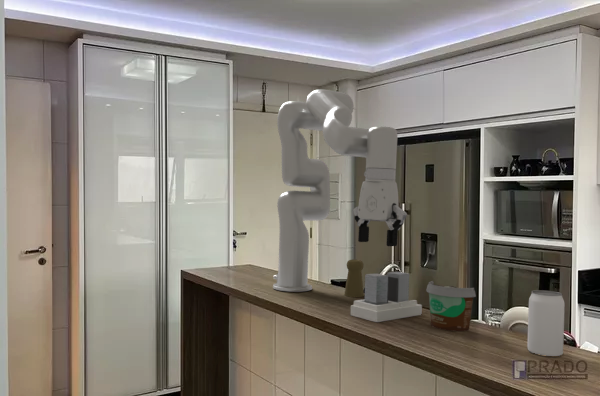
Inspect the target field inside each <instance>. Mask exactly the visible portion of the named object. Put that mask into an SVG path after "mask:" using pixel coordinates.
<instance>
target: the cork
mask: <svg viewBox="0 0 600 396" xmlns="http://www.w3.org/2000/svg"><path fill="white" fill-rule="evenodd" d="M346 269H347V277H346V282H345V289H344V295H343V296H345V297H349V298H363V297H365V290H364V284H363V283H364V282H363V272H362V271H363V270H364V262H363V260H360V259H355V258H353V259H349V260H347V263H346Z"/></svg>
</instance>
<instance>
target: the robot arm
mask: <svg viewBox="0 0 600 396" xmlns="http://www.w3.org/2000/svg"><path fill="white" fill-rule="evenodd" d="M354 108H355V107H354V101H353V99H352V97H351V96H350V95H349V94H348V93H346V92H344V91H343V92H342V91H337V90H332V89H325V88H317V89H315V90H312V91H311V92H310V93H308V95H307V98H306V101H300V100H290V101H286V102H284V103H282V105H281V106H280V107H279V110H278V113H277V118H276V119H277V120H276V122H277V123H276V125H277V131H278V137H279V139H280V145H281V148H280V149H281V151H280V153H281V155H280V156H281V178H282V182H283V183H284V184H285V185H286V186H289V187H293V188H294V187H296V188H309V189H310V191H309V190H307V191H305V190H288V191H285V192H282V193H281V194H280V195H279V196H278V198H277V205H276V206H277V212H278V213H277V214H278V219H279V221H278V222H279V236H278V237H279V241H278V242H279V245H278V267H277V268H278V271H277V272H278V273H276V274H274V275H273V277H272V278H273V279H274V280H276V283H273V285H272V289H274V290H276V291H281V292H290V293H291V292H292V293H293V292H294V293H298V292H300V293H301V292H303V293H304V292H308V291H311V290H312V289H313V285H311V284H309V283H308V279H309V277H308V276H309V275H308V273H309V249H310V248H309V247H310V246H309V245H310V235H309V230H308V228H307V226H306V225H305V223H304V221H323V220H325V219H326V218H328V216H329V214H330V211H331V186H330V185H331V184H330V181H331V180H330V179H331V177H330V169H329V167H328V165H327V164H326V162H324V160H322V159H317V158H310V157H309V156H308V143H307V140H306V139H305V138H306V137H304V135H303V133H302V132H301V131H300V130H301V129H303V130H312V131H318V132H319V131H320V132H321V131H322V136H323V139H324V141H325V143H326V144H327V146H328V147H330V148H331V150H332V151H334V152H335V153H336V154H338V155H341V156H347V157H357V158H358V157H360V158H365V171H364V172H363V176H364V177H365V179H364V180H365V181H364V180H363V181H362V182H361V183H362V184H361V188H360V190H359V191H360V193H359V198H358V199H359V200H358V205H357V206H356V207H354V208H353V209H352V213H353V215H354V220H355V222H356V226H357V227H358V242H359V243H368V242H369V240H370V237H369V235H370V226H368V225H369V224H370V222H371V221H372V222H385V223H386V226H387V227H388V229H387V231H386V246H387V247H397V246H398V233H399V230H401V227H402V226H403V225H404V224H405V220H406V218H407V217H408V213H407V212H406V211H405V210H404V209H402V208H401V207H400V206H399V190H398V184H397V182H396V173H397V171H396V169H397V151H398V130H397V129H396V128H394V127H391V126H372V127H370V128H362V127H355V126H350V125H351V124H352V121H353V120H352V119H353V115H352V114H353V112H354Z"/></svg>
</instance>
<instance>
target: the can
mask: <svg viewBox="0 0 600 396" xmlns="http://www.w3.org/2000/svg"><path fill="white" fill-rule="evenodd" d="M527 315H528V317H527V321H528V322H527V343H526V344H527V351H528V352H529V353H530V354H533V353H535V354H540V355H546V356H559V357H561V356H562V355H563V354H564V333H565V331H564V329H565V300H564V298H563V294H562V293H561V292H558V291H553V290H543V289H542V290H540V289H539V290H537V289H535V290H531V294H530V296H529V298H528V314H527ZM535 354H534V355H535ZM560 355H561V356H560Z"/></svg>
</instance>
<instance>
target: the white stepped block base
mask: <svg viewBox="0 0 600 396" xmlns="http://www.w3.org/2000/svg"><path fill="white" fill-rule="evenodd" d="M386 275H388V279H389V283H388V303H387V304H382V305H374V304H370V303H365V302H364V301H365V298H364V299H357V300H353V304H352V305H350V316H353V317H356V318H359V319H363V320H367V321H371V322H374V323H380V322H386V321H393V320H398V319H404V318H409V317H415V316H422V315H421V314H423V313H422V312H423V305H422V304H421V303H419V304H418V300H416V299H412V300H411V299H410V300H409V291H410V273H409V272H408V273H407V272H401V271H391V272H387V273H386Z"/></svg>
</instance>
